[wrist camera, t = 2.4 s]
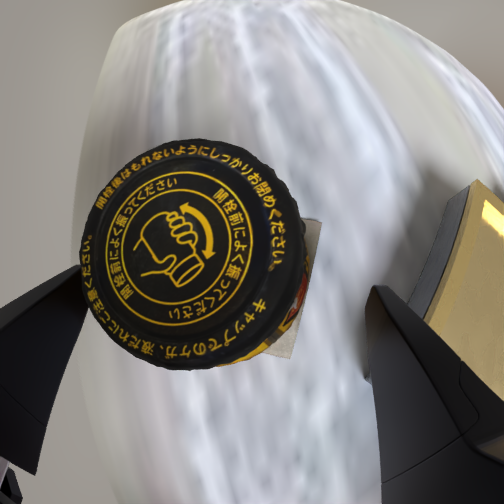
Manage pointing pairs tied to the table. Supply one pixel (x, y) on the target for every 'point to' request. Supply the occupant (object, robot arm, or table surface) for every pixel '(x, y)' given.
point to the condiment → (197, 257)
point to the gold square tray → (468, 283)
